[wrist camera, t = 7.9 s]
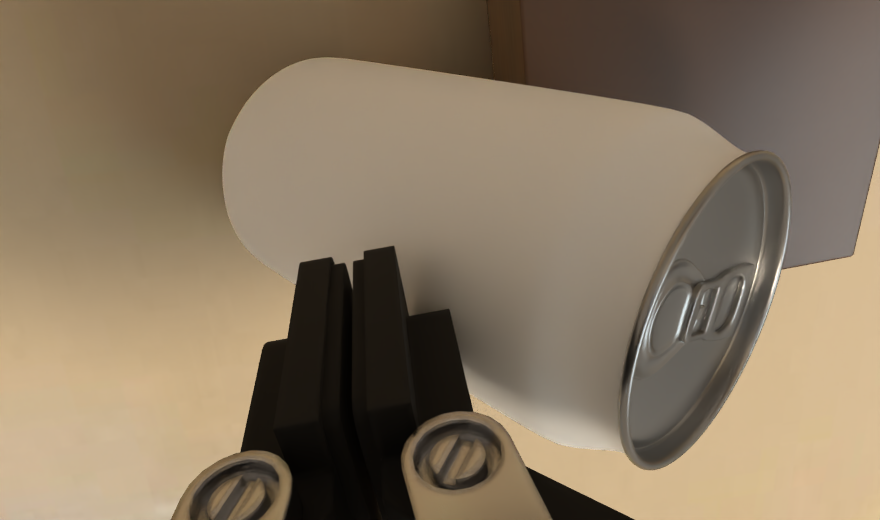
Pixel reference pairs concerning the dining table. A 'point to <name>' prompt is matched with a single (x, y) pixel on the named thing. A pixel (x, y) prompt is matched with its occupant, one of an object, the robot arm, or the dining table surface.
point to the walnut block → (727, 84)
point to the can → (529, 236)
